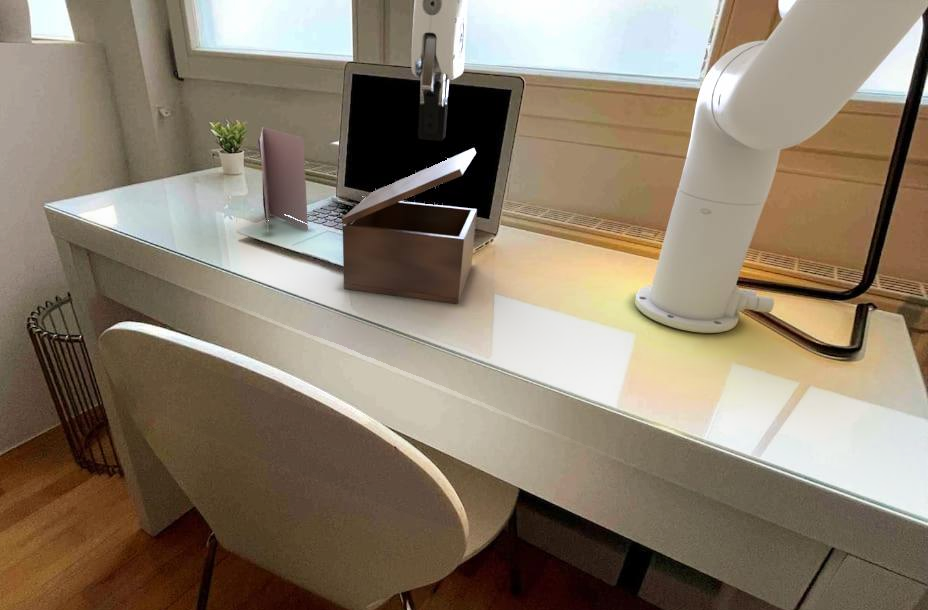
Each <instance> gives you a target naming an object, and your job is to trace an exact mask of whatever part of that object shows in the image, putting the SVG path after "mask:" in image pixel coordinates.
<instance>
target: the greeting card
mask: <svg viewBox="0 0 928 610" xmlns="http://www.w3.org/2000/svg"><path fill="white" fill-rule="evenodd" d="M257 143H258V151H259V156H260V163H261V171H262V175H261V176H262V205H263V212H264V217H265V222H266V228H268V229H267V233H269V232H270V221H271V220H270V219H271V216H273V217H275V218H278V219H280V220H283V221H284V222H287V223H289V224H292V225H294V226H297V227H299V228H302V229H303V230H305V231H309V222H308V221H309V220H308V219H309V218H308V202H307V182H306V181H307V180H306V162H305V141H304V137H301V136H297V135H294V134H288V133H286V132H283V131H280V130H279V131H278V130H275V129H270V128H267V127H263V126H262V128H261V132H260V137H257ZM284 214H286V215H290V216H292V217H294V218H296V219H298V220H301V221H303V222H305V223H307V224H308V225H307V224H305V223H302V222H300V221H297V220H295V219H293V218H290V217H288V216H285V215H284ZM268 220H269V221H268Z"/></svg>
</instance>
